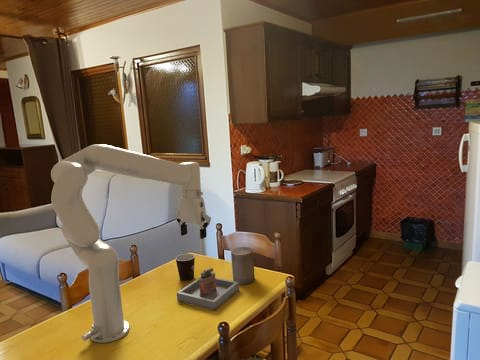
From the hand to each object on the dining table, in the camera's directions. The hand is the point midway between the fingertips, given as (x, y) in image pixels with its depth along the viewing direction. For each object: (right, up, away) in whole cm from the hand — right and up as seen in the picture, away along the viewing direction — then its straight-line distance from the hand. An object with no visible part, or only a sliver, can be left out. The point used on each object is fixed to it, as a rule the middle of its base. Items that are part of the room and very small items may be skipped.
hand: (193, 236), depth 143 cm
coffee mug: (-7, -23, +20) cm, 31 cm away
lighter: (+6, -24, +4) cm, 25 cm away
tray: (+6, -25, +4) cm, 26 cm away
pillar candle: (+20, -22, +16) cm, 34 cm away
